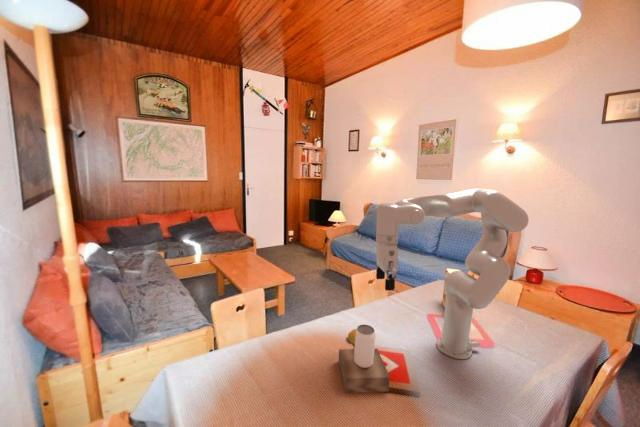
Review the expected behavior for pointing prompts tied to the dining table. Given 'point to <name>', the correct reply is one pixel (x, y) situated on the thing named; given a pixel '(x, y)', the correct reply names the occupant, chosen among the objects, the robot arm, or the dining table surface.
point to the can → (364, 346)
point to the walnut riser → (363, 373)
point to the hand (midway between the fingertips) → (384, 284)
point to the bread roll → (352, 336)
